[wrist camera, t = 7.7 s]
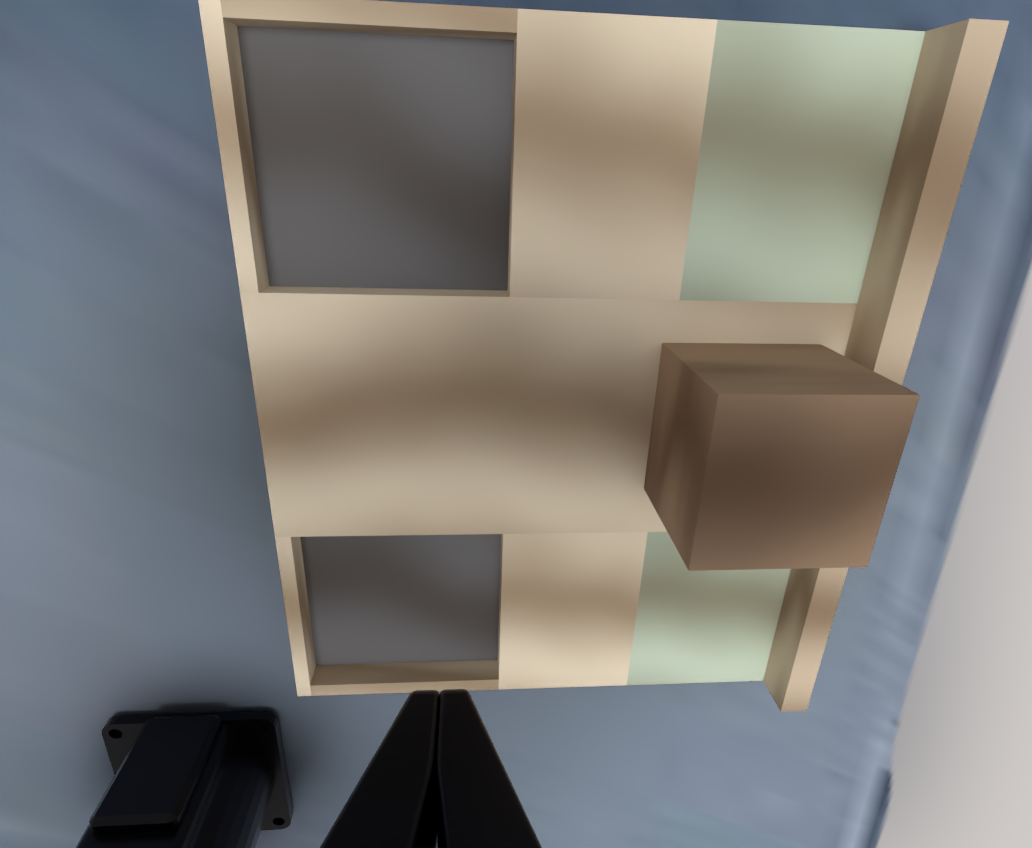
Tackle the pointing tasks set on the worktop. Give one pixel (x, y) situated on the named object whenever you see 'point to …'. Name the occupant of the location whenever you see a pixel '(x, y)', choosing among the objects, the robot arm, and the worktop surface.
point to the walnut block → (773, 454)
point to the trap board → (555, 310)
